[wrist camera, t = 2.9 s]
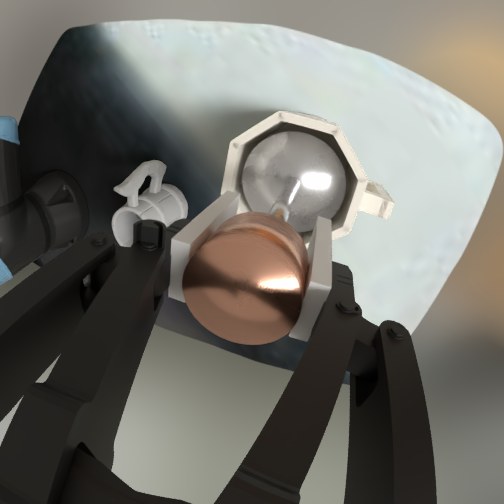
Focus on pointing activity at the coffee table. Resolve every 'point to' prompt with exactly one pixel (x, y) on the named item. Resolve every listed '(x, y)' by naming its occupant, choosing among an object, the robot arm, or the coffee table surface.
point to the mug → (147, 201)
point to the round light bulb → (265, 241)
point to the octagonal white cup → (357, 184)
